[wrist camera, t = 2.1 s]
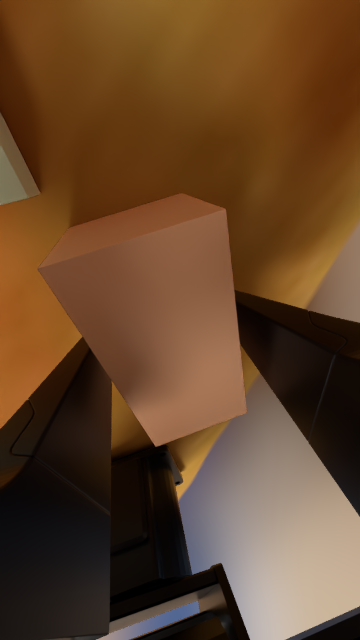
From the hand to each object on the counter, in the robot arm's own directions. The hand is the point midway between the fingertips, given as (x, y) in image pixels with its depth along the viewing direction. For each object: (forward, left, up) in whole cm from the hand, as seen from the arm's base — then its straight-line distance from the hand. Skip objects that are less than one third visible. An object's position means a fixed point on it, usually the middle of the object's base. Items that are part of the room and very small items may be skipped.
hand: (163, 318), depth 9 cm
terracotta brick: (0, 0, -1) cm, 1 cm away
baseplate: (+11, +8, -1) cm, 14 cm away
